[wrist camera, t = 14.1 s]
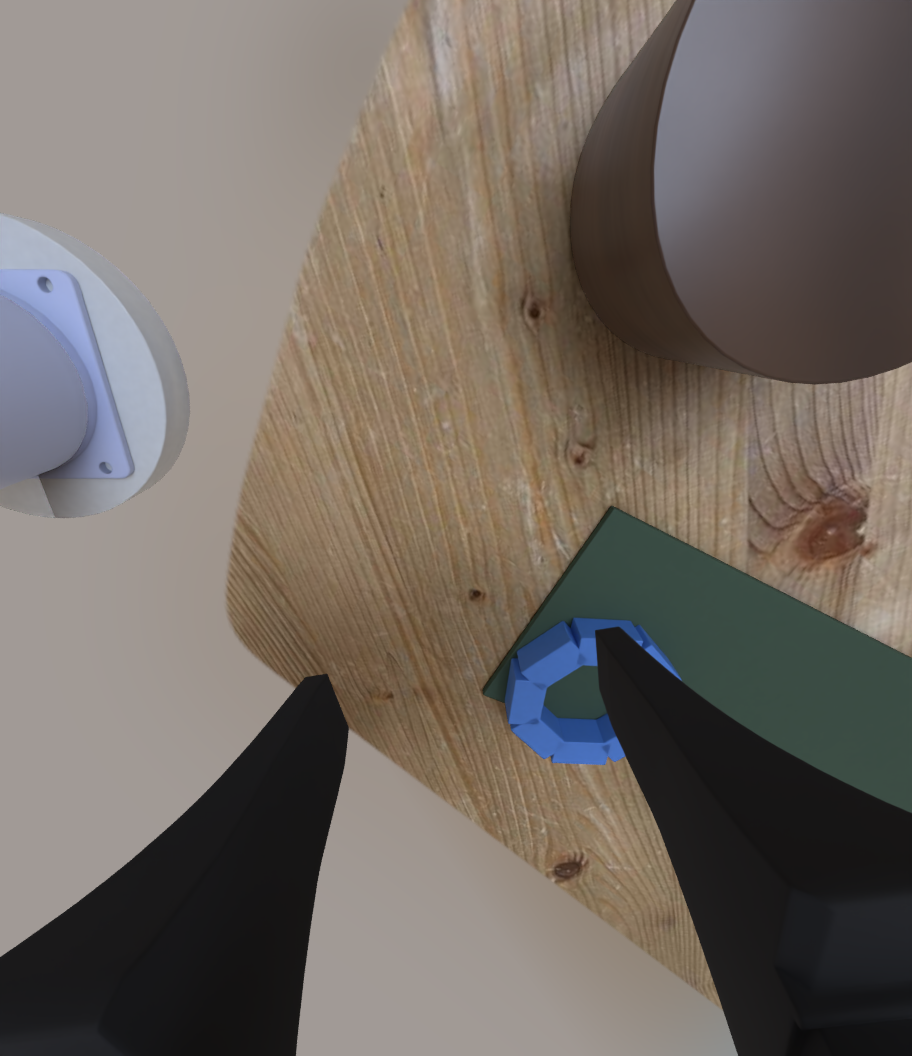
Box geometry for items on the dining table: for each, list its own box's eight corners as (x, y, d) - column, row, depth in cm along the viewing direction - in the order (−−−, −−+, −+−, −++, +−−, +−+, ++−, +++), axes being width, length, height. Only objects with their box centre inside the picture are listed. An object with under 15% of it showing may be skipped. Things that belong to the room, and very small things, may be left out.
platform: (556, 360, 18) (617, 384, 11) (589, -1, 13) (716, -288, 7) (811, 361, 18) (1013, 385, 11) (922, 4, 14) (1339, -271, 7)
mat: (482, 689, 25) (482, 695, 24) (611, 505, 20) (614, 508, 20) (971, 875, 33) (977, 882, 32) (1139, 773, 28) (1148, 779, 28)
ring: (498, 736, 26) (501, 761, 24) (518, 614, 22) (523, 634, 21) (642, 742, 26) (654, 767, 24) (684, 623, 22) (700, 644, 21)
